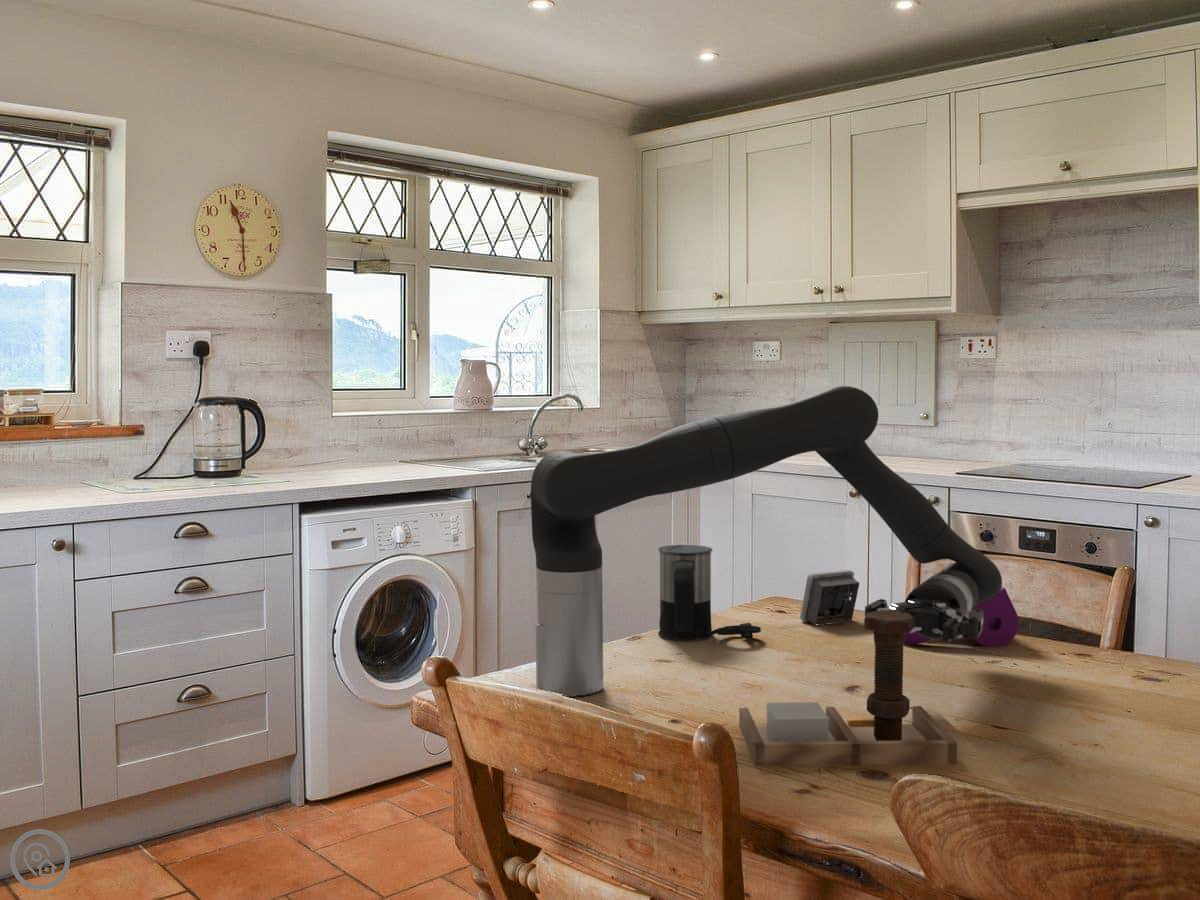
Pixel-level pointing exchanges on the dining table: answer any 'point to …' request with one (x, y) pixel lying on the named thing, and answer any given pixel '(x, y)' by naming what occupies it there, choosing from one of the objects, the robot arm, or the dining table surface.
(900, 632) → the bolt
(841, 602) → the electrical switch
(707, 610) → the milk frother
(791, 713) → the grey block
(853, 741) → the tray
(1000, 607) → the mounting bracket
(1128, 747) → the dining table surface
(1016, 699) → the dining table surface
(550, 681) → the robot arm
